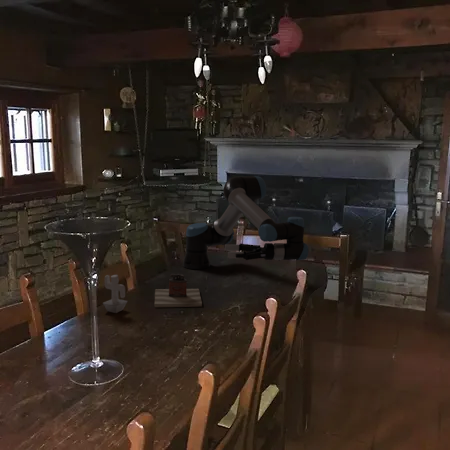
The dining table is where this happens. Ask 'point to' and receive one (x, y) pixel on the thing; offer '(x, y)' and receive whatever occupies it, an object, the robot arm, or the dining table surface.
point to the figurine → (114, 294)
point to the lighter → (177, 286)
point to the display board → (177, 299)
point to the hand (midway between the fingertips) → (226, 251)
